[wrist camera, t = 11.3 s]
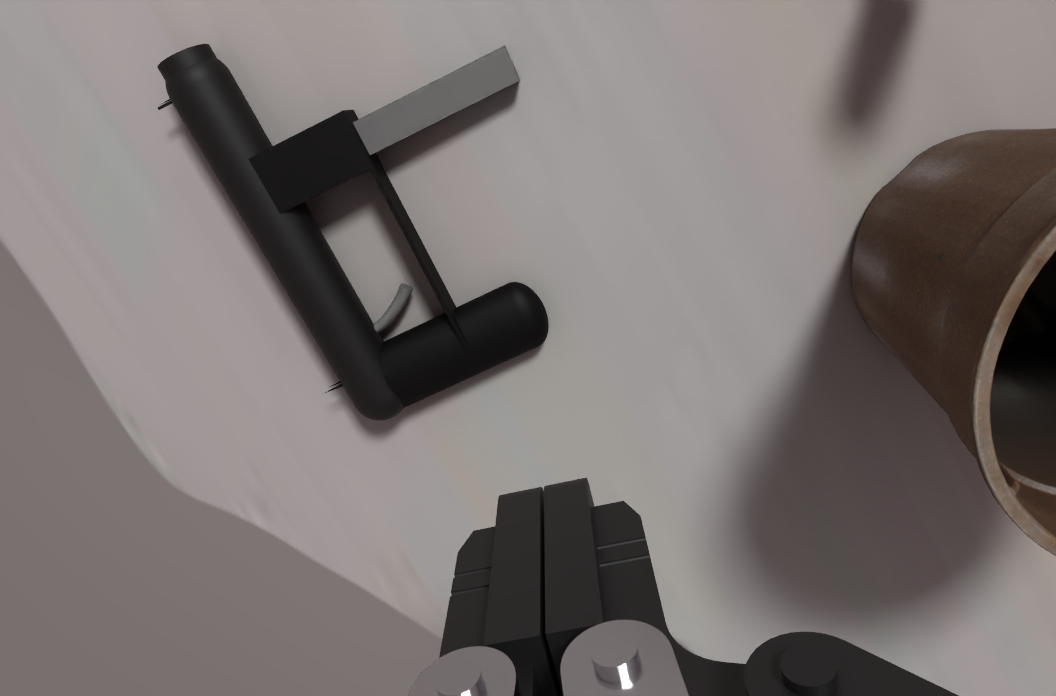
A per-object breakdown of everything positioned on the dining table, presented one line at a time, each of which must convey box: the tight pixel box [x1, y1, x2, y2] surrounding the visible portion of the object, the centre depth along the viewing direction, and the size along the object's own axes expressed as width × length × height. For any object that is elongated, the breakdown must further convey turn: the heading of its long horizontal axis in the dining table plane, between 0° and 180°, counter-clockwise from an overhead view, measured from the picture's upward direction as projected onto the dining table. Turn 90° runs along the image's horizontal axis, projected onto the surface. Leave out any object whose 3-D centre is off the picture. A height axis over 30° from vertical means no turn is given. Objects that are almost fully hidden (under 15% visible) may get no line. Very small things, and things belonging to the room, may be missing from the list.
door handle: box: [158, 44, 548, 420], centre depth 36 cm, size 3×20×16 cm
